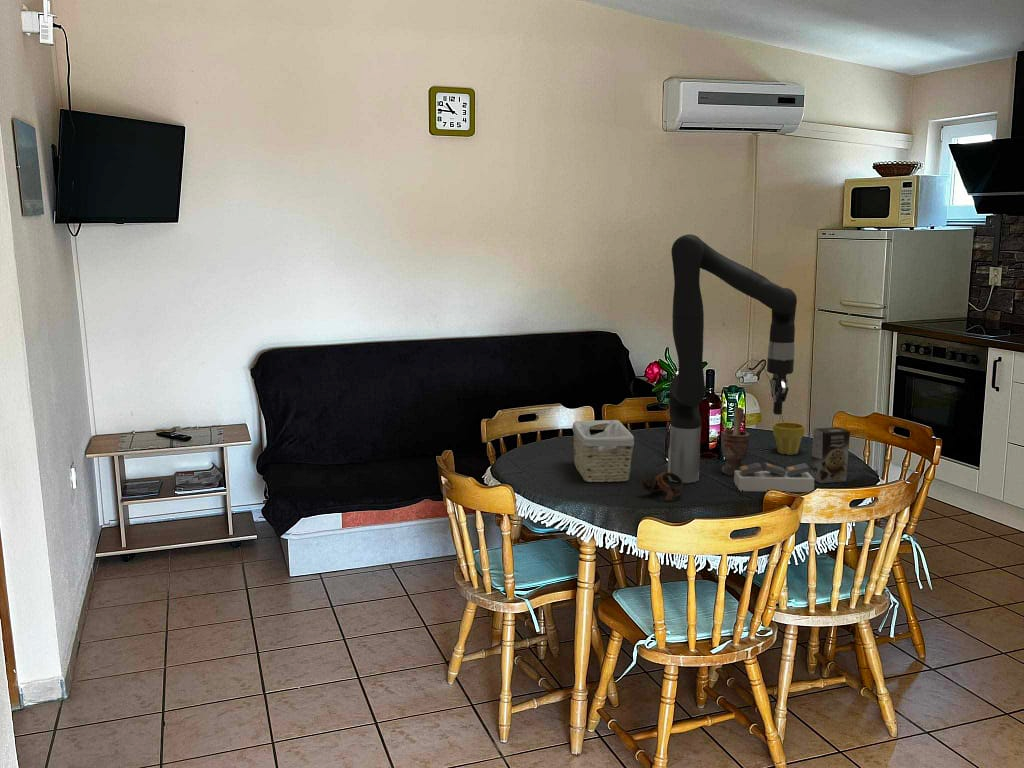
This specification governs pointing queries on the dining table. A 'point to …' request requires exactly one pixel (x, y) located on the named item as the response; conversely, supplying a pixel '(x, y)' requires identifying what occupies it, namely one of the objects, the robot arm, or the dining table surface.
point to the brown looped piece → (663, 485)
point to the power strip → (773, 481)
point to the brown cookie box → (830, 454)
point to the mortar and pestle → (734, 444)
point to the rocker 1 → (750, 468)
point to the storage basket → (602, 450)
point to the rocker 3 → (797, 469)
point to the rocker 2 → (774, 469)
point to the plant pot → (788, 437)
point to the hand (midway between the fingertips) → (777, 413)
